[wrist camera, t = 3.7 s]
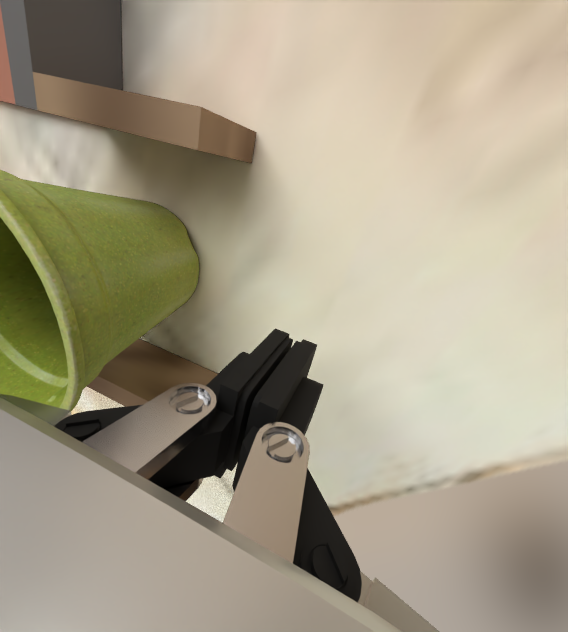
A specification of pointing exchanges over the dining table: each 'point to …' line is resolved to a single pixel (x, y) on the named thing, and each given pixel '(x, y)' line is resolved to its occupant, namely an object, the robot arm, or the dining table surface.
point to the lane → (164, 125)
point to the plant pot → (81, 283)
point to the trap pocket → (58, 45)
